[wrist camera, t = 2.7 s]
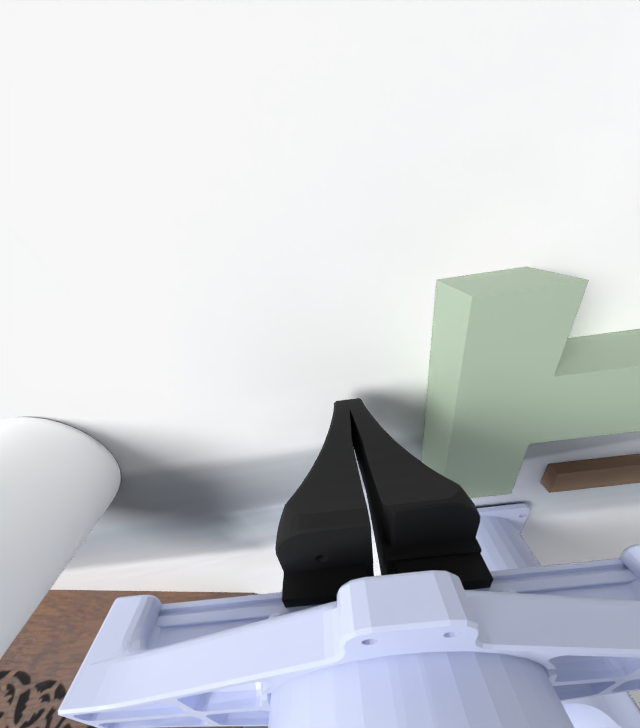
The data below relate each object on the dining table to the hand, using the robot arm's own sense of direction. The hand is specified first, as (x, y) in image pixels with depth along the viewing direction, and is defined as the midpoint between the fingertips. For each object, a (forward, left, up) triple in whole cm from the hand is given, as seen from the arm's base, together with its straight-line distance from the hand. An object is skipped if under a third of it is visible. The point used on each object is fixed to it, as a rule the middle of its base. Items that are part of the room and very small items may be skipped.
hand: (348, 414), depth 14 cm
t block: (0, -10, -1) cm, 10 cm away
